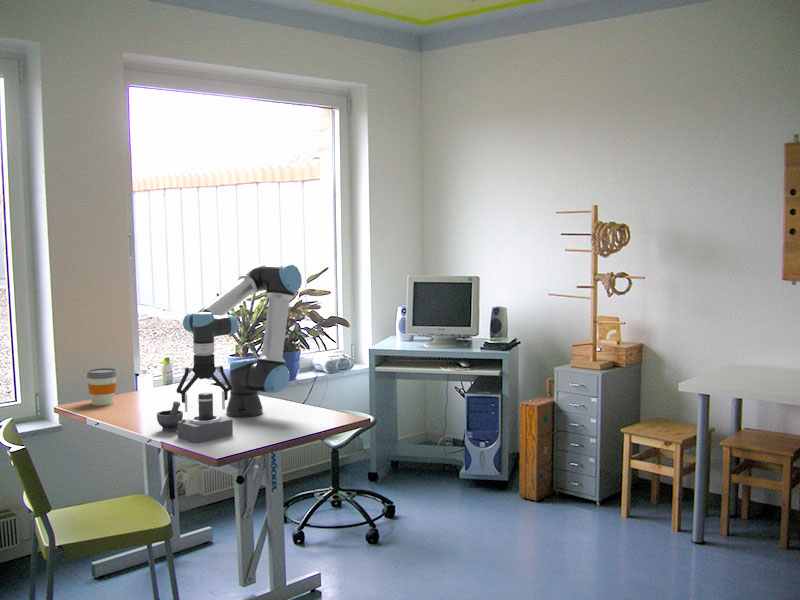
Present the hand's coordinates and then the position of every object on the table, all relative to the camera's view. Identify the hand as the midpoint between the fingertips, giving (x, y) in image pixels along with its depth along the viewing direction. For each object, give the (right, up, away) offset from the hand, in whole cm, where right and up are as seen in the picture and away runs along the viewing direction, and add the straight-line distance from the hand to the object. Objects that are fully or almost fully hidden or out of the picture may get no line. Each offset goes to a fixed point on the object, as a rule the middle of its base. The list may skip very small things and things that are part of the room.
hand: (204, 410), depth 288 cm
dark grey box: (0, -10, +1) cm, 10 cm away
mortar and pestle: (-15, -10, +9) cm, 20 cm away
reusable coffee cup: (-61, -5, +57) cm, 84 cm away
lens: (0, -4, 0) cm, 4 cm away
